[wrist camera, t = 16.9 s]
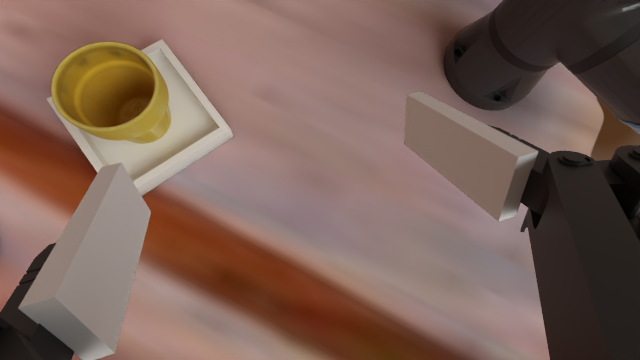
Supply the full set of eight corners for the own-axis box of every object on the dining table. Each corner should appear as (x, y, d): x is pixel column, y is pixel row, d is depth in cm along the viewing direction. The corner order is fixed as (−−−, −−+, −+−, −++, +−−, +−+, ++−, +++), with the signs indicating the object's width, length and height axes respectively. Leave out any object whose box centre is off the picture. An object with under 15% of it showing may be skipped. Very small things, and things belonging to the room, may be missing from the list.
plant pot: (148, 173, 39) (106, 151, 29) (85, 126, 39) (24, 89, 30) (202, 116, 42) (180, 78, 32) (143, 72, 42) (103, 22, 32)
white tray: (169, 52, 44) (162, 39, 41) (233, 137, 43) (230, 129, 40) (62, 109, 40) (46, 99, 37) (129, 204, 39) (117, 200, 36)
